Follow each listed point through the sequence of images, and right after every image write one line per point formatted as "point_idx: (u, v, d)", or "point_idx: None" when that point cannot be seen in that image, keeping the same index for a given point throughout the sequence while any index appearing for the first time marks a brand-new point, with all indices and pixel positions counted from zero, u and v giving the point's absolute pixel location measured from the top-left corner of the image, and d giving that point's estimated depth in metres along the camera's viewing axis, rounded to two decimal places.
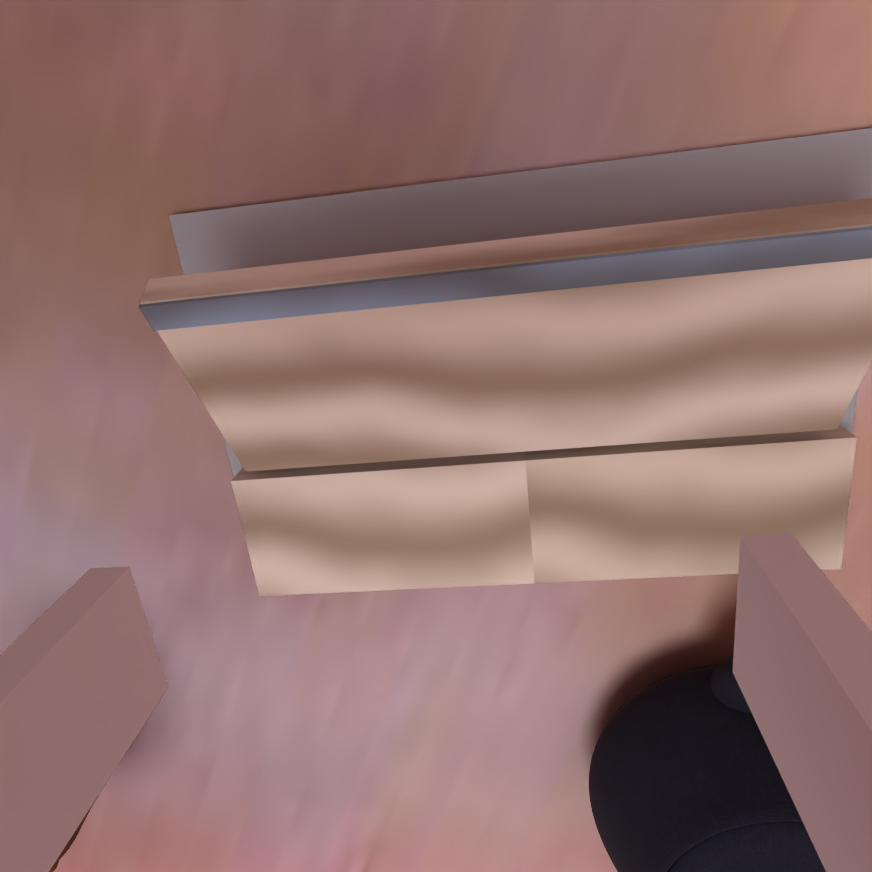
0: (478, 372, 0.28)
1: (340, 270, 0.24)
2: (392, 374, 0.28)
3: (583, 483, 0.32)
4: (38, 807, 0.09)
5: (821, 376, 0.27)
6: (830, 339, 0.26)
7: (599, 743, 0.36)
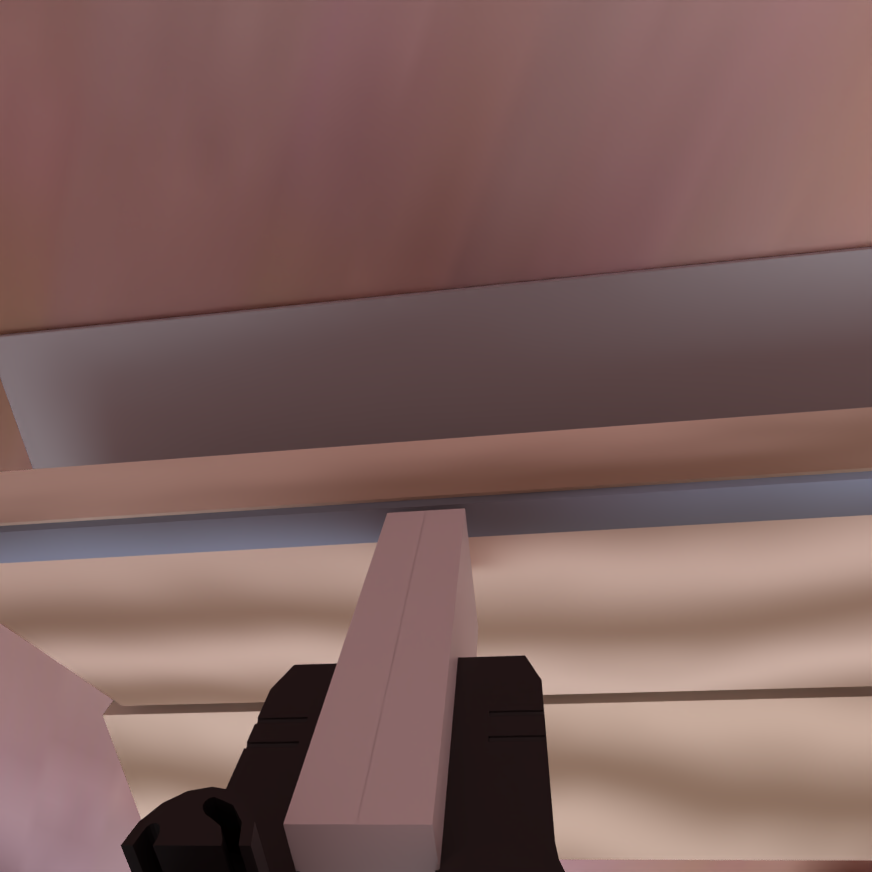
0: None
1: (217, 485, 0.14)
2: (325, 618, 0.17)
3: (628, 737, 0.21)
4: None
5: None
6: None
7: None
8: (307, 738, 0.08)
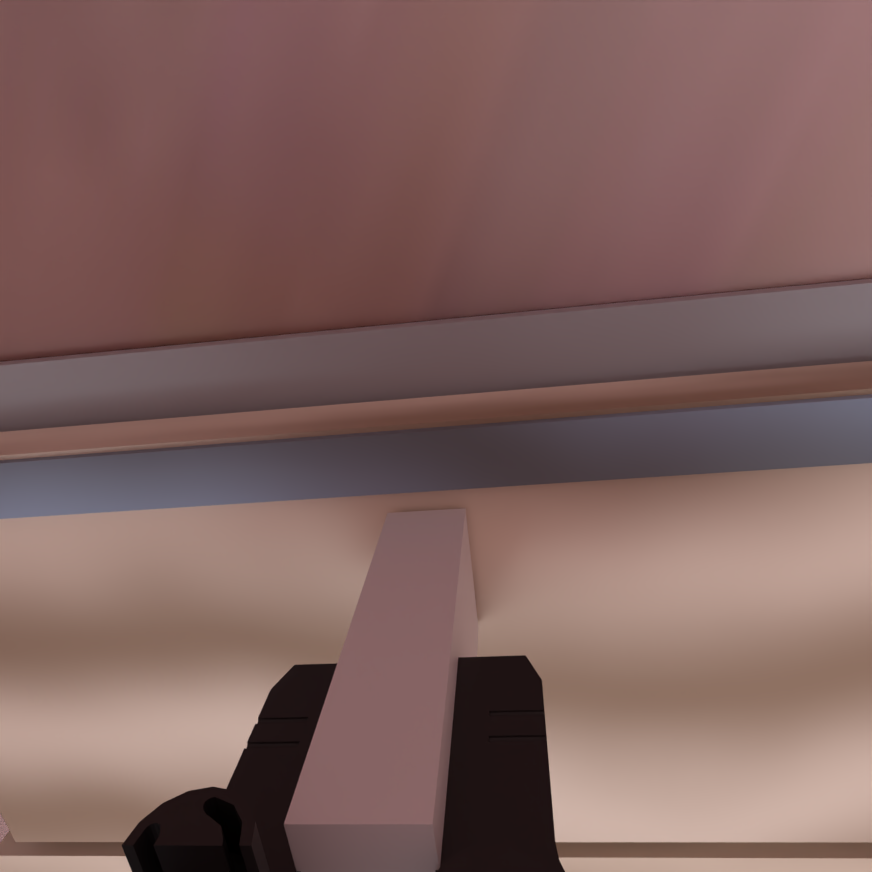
0: None
1: (197, 429, 0.13)
2: (288, 651, 0.14)
3: None
4: None
5: None
6: None
7: None
8: (307, 738, 0.08)
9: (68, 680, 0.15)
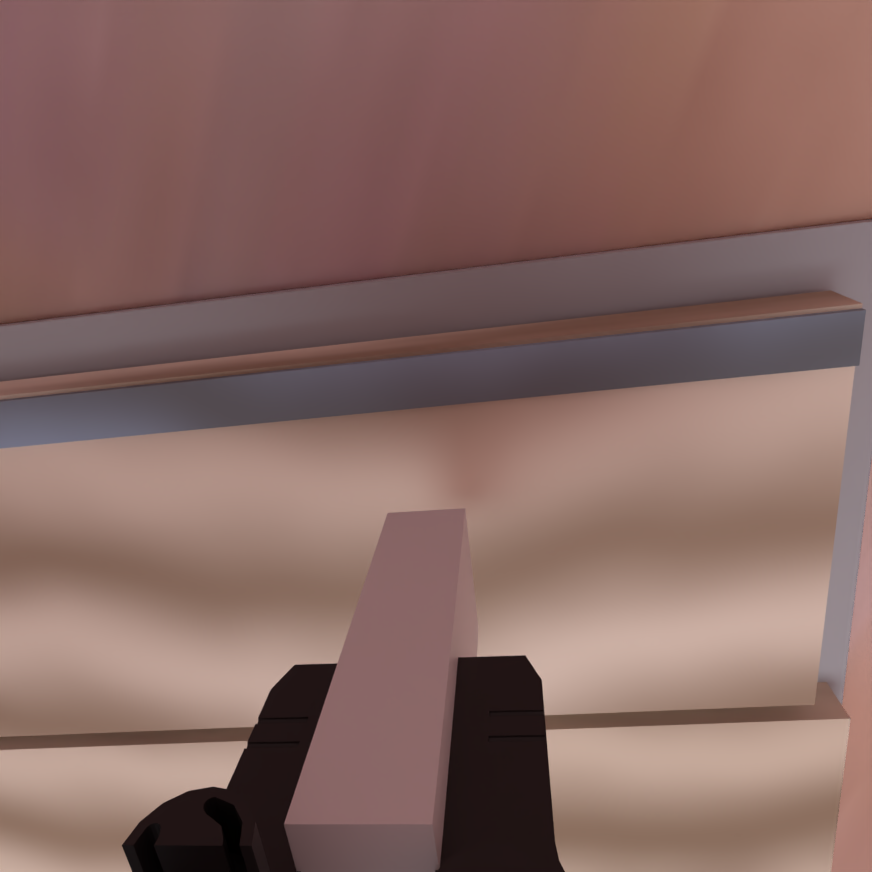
0: (212, 569, 0.18)
1: None
2: (84, 567, 0.18)
3: None
4: None
5: (758, 597, 0.17)
6: (750, 526, 0.16)
7: None
8: (307, 738, 0.08)
9: None
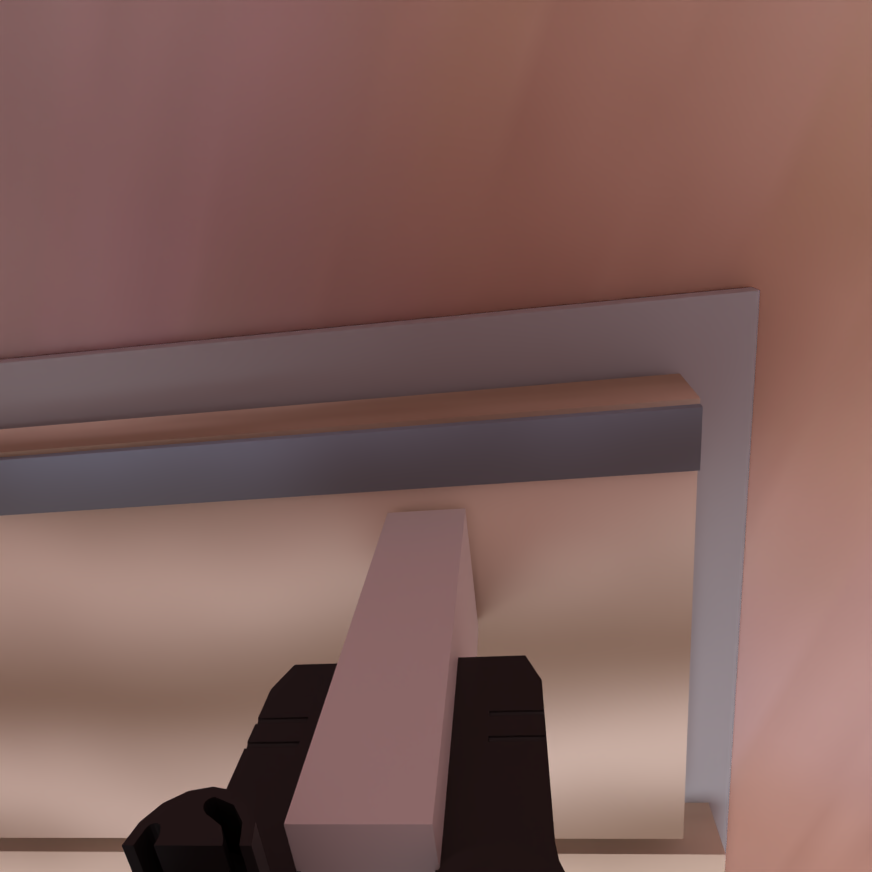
0: None
1: None
2: None
3: None
4: None
5: (607, 722, 0.14)
6: (591, 645, 0.14)
7: None
8: (307, 738, 0.08)
9: None
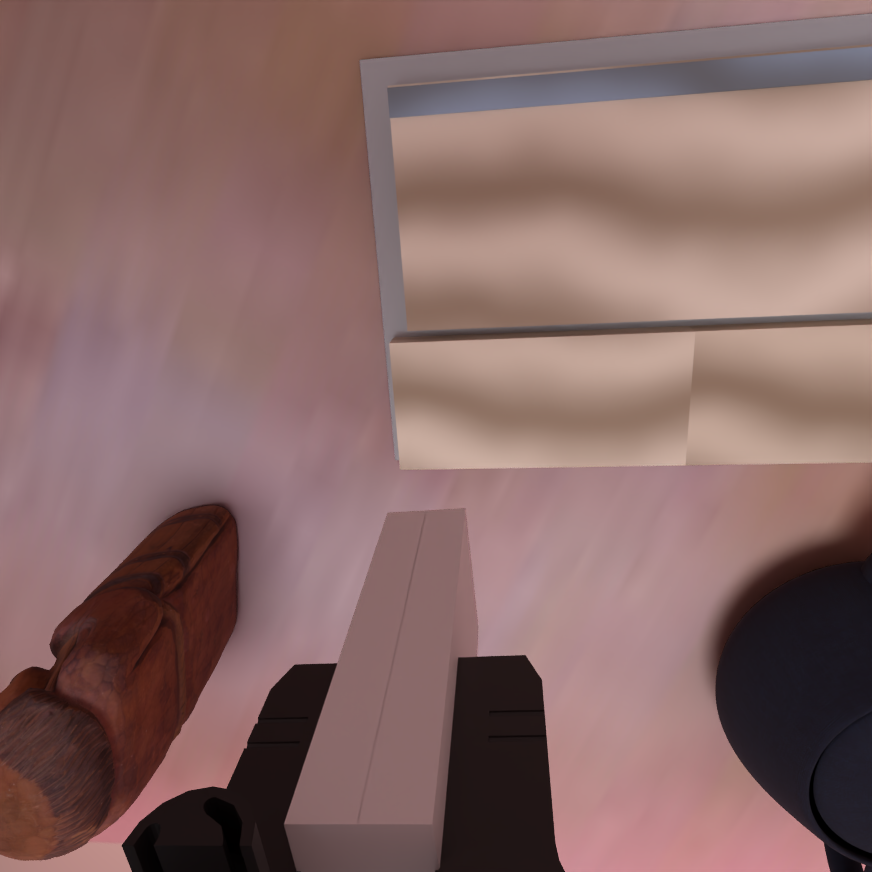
0: (667, 196, 0.30)
1: None
2: (586, 193, 0.30)
3: (751, 358, 0.32)
4: None
5: None
6: None
7: (734, 637, 0.36)
8: (307, 738, 0.08)
9: (470, 214, 0.31)
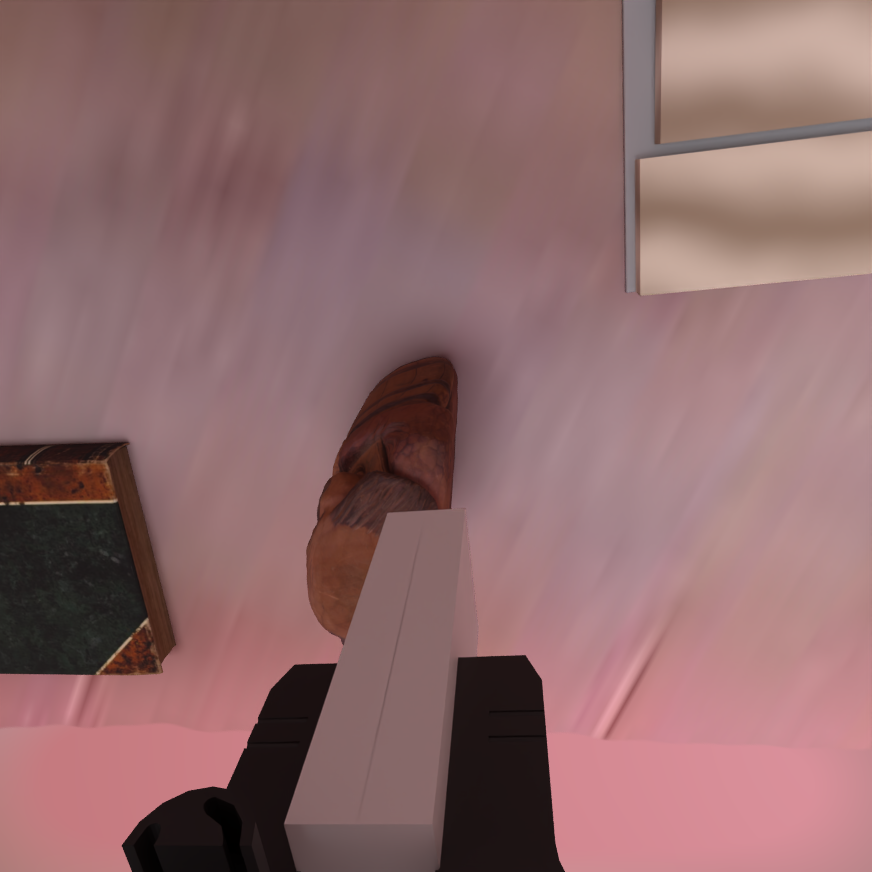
0: None
1: None
2: None
3: None
4: None
5: None
6: None
7: None
8: (307, 738, 0.08)
9: (736, 10, 0.31)
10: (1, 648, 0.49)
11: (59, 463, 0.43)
